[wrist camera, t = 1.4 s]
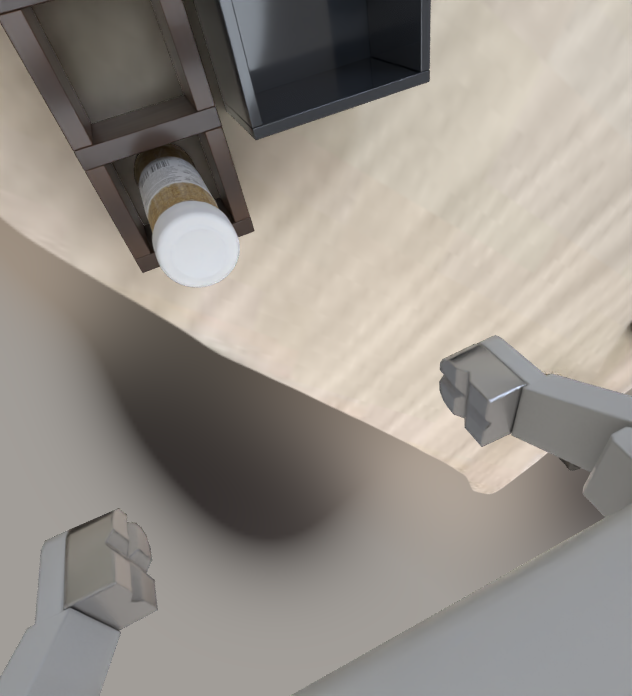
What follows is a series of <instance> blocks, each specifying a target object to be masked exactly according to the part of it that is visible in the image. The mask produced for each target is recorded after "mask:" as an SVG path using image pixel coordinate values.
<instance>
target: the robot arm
mask: <svg viewBox="0 0 632 696" xmlns="http://www.w3.org/2000/svg"><path fill="white" fill-rule="evenodd" d="M440 371H441V372H442V373H443V374H444V375H443V377H442V378H441V380H440V381H439V385H440V393H441V395H442V398H443V400H444V402H445V404H446V405H447V407H448V408H449V409H450V411H451V412H452V413H453V414H454V415H457V416H460V417H462V418H464V421H465V428H466V429H467V431H468V432H469V433H470V434H471V435H472V436H473V437H474V439H475V440H476V441H477V442H478V443H479V444H480V446H481V447H483V446H485V445H487V444H489V443H491V442H494V441H496V440H498V439H500V438H502V437H504V436H506V435H509V434H511V433H512V434H511V435H512V436H514V437H516V438H519V439H521V440H523V441H525V442H527V443H529V444H531V445H534V446H536V447H538V448H540V449H542V450H544V451H546V452H549V453H551V454H553V455H555V456H557V457H559V458H561V459H564V460H566V461H568V462H570V463H572V464H574V465H576V466H579V467H581V468H583V469H585V470H587V471H589V472H591V474H590V476H589V477H588V479H587V481H586V483H585V485H584V487H583V495H584V496H585V497H586V498H587V499H588V500H589V501H590V502H591V503H592V504H593V505H594V506H595V507H596V508H597V509H598V510H599V511H600V512H601V513H602V515H603V516H604V517H605V519H603V520H601V521H599V522H597V523H595V524H594V525H592V526H590V527H588V528H587V529H585V530H583V531H581V532H580V533H578V534H576V535H574V536H572V537H571V538H569V539H567V540H565V541H564V542H562V543H560V544H558V545H556V546H555V547H553V548H551V549H549V550H548V551H546V552H544V553H543V554H541V555H539V556H537V557H535V558H533V559H532V560H530V561H528V562H526V563H525V564H523V565H521V566H519V567H518V568H516V569H514V570H512V571H510V572H509V573H507V574H505V575H503V576H502V577H500V578H498V579H496V580H495V581H493V582H491V583H489V584H487V585H486V586H484V587H482V588H480V589H478V590H477V591H475V592H473V593H472V594H470V595H468V596H466V597H464V598H463V599H461V600H459V601H457V602H455V603H454V604H452V605H451V606H449V607H447V608H445V609H443V610H441V611H439V612H438V613H436V614H434V615H432V616H431V617H429V618H427V619H425V620H424V621H422V622H420V623H418V624H416V625H415V626H413V627H411V628H409V629H408V630H406V631H404V632H402V633H400V634H399V635H397V636H395V637H393V638H392V639H390V640H388V641H386V642H385V643H383V644H381V645H379V646H378V647H376V648H374V649H372V650H370V651H369V652H367V653H365V654H363V655H362V656H360V657H358V658H357V659H354V660H353V661H351V662H349V663H348V664H346V665H344V666H342V667H340V668H338V669H337V670H335V671H333V672H332V673H330V674H328V675H326V676H324V677H322V678H321V679H319V680H317V681H315V682H314V683H312V684H310V685H308V686H307V687H305V688H303V689H301V690H299V691H298V692H296V693H294V694H292V695H291V696H632V396H630V395H626V394H623V393H619V392H616V391H612V390H608V389H605V388H601V387H598V386H594V385H591V384H587V383H584V382H580V381H577V380H573V379H570V378H566V377H562V376H559V375H555V374H549V375H547V376H546V375H545V374H544V373H543V372H542V371H540V370H539V369H538V368H537V367H536V366H534V365H533V364H532V363H531V362H530V361H528V360H527V359H526V358H525V357H524V356H522V355H521V354H520V353H519V352H518V351H517V350H515V349H514V348H513V347H512V346H511V345H509V344H508V343H507V342H506V341H505V340H503V339H502V338H501V337H499V336H496V335H495V336H491V337H489V338H487V339H485V340H483V341H481V342H479V343H477V344H473V345H471V346H469V347H467V348H465V349H463V350H461V351H459V352H456V353H454V354H452V355H450V356H448V357H446V358H444V359H442V361H441V362H440ZM151 561H152V555H151V548H150V545H149V542H148V539H147V536H146V534H145V532H144V531H143V529H142V528H141V527H140V526H139V525H138V524H137V523H133V522H127V514H126V513H124V512H123V511H122V510H120V509H119V508H118V509H116V510H113V511H111V512H109V513H107V514H104V515H102V516H100V517H97V518H95V519H93V520H90V521H88V522H86V523H84V524H81V525H79V526H77V527H75V528H72V529H70V530H68V531H65V532H63V533H61V534H59V535H56V536H54V537H52V538H50V539H48V540H45V542H44V545H43V547H42V549H41V555H40V568H39V579H38V592H37V604H36V617H35V624H34V625H33V626H31V627H29V628H28V629H27V630H26V632H25V633H24V635H23V637H22V639H21V641H20V642H19V644H18V646H17V648H16V650H15V651H14V653H13V655H12V657H11V659H10V660H9V662H8V664H7V666H6V667H5V669H4V671H3V673H2V675H1V676H0V696H100V693H101V690H102V687H103V684H104V681H105V678H106V675H107V672H108V669H109V666H110V663H111V660H112V657H113V655H114V652H115V649H116V646H117V643H118V640H119V637H120V634H121V632H120V631H119V630H121V629H123V628H125V627H127V626H129V625H130V624H133V623H134V622H136V621H138V620H140V619H142V618H144V617H146V616H148V615H149V614H151V613H153V612H155V611H157V610H158V608H157V599H156V590H155V581H154V579H153V578H152V577H151V576H149V575H148V574H147V570H148V568H149V566H150V564H151Z"/></svg>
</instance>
